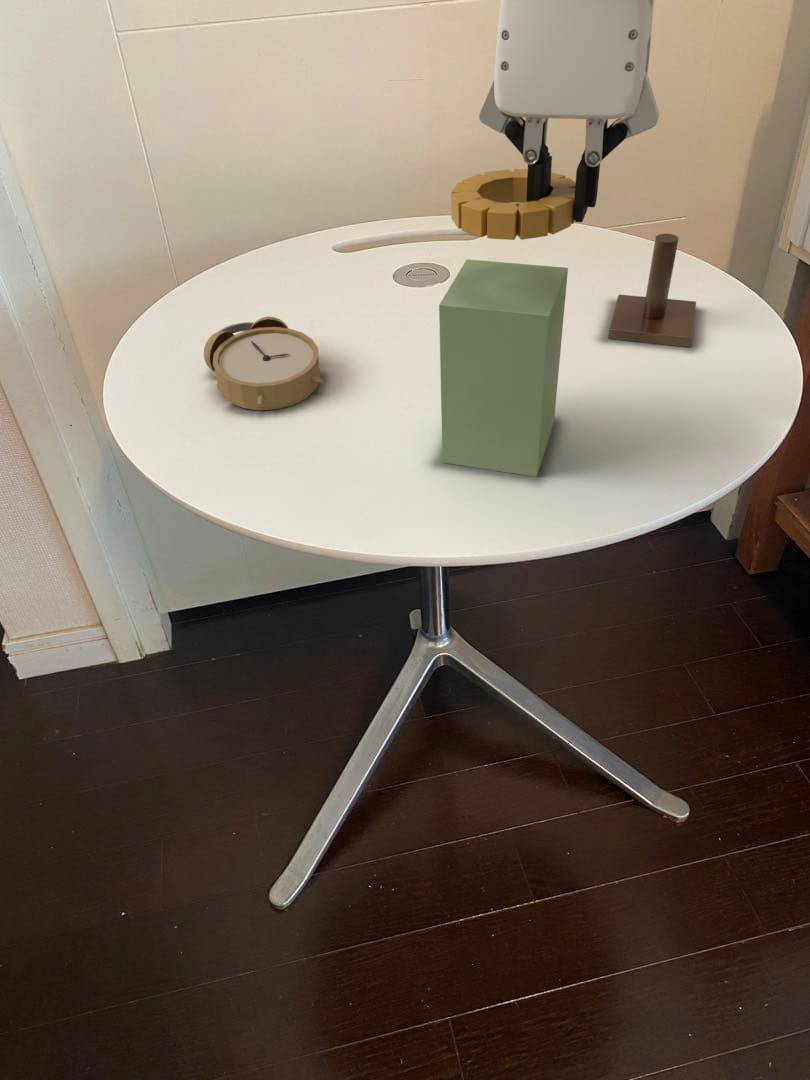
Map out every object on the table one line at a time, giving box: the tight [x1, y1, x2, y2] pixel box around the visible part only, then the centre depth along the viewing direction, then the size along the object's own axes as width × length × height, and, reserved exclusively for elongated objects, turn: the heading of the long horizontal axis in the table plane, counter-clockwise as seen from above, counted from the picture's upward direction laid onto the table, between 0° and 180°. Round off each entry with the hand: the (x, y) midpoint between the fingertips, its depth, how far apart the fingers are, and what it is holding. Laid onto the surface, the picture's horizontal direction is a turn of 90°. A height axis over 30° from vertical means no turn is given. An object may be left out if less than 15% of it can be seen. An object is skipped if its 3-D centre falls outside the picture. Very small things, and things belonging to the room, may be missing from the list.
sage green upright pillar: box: [438, 258, 569, 478], centre depth 73 cm, size 9×9×16 cm
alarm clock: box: [203, 316, 324, 411], centre depth 88 cm, size 11×5×15 cm
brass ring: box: [450, 168, 576, 241], centre depth 63 cm, size 10×10×2 cm
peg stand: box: [607, 233, 697, 348], centre depth 90 cm, size 9×9×10 cm
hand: (560, 212), depth 62 cm, fingers closed on brass ring, 2 cm apart
